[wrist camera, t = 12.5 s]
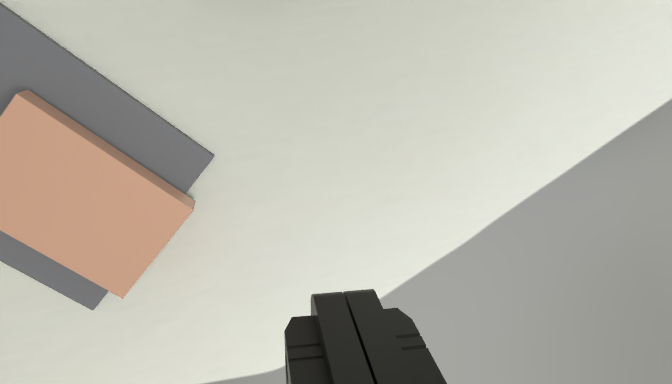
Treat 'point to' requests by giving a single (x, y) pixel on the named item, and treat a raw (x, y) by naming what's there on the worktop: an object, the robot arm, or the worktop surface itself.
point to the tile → (82, 196)
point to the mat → (98, 117)
